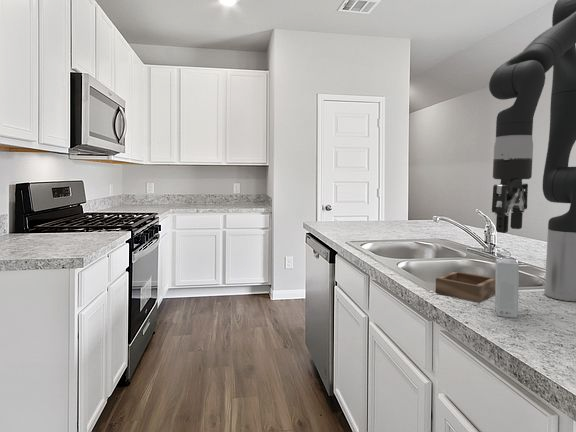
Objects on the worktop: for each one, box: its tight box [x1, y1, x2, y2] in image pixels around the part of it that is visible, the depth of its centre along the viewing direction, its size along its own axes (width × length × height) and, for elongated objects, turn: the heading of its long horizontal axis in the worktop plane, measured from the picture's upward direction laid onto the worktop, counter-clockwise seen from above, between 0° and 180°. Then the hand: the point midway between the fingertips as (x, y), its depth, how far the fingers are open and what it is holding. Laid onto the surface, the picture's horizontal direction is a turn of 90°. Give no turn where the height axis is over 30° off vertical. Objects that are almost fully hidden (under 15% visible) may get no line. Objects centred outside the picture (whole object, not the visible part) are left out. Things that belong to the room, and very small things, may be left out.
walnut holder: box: [434, 270, 495, 303], centre depth 107 cm, size 11×11×4 cm
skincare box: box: [494, 258, 520, 319], centre depth 91 cm, size 6×4×12 cm
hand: (509, 230), depth 90 cm, fingers open, 8 cm apart
